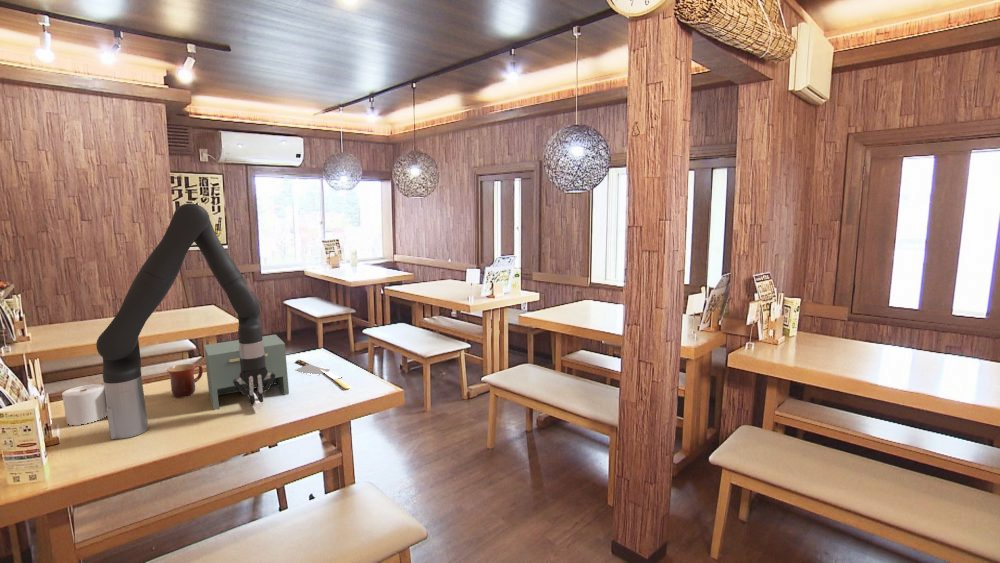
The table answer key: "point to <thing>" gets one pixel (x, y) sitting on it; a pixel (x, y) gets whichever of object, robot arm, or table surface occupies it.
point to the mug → (183, 379)
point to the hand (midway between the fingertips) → (256, 404)
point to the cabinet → (227, 366)
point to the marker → (257, 402)
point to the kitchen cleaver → (310, 368)
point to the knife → (336, 379)
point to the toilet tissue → (85, 404)
